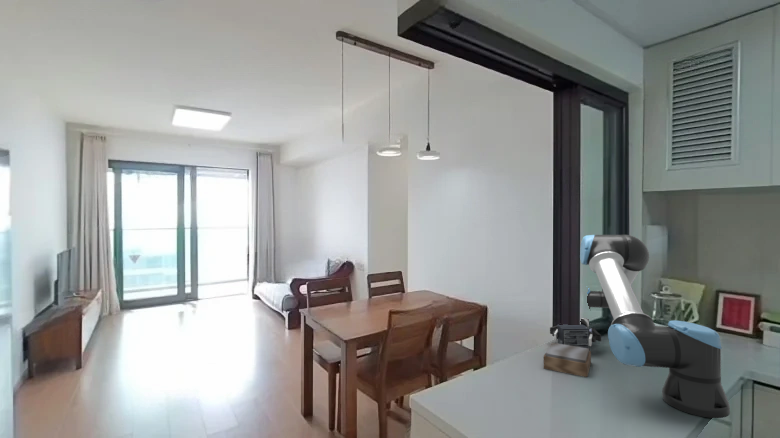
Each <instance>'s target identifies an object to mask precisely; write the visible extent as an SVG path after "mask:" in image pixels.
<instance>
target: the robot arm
mask: <svg viewBox="0 0 780 438" xmlns="http://www.w3.org/2000/svg"><path fill="white" fill-rule="evenodd" d="M579 252H580V255H579V258H580V263H581V264H582V265H585V266H588V267H589V269H590V270H591V272H593V273H594V274H596V275H597V279H598V281H599V284H600V286H601V288H602V291H601V290H599V291H598V290H591V288H590V287H589V288H588V292H587V294H588V296H587V303H588V306H589V309H590V310H591V308H597V309H598V308H599V309H600V308H601V309H602V308H603V309H609V311H610V314H611V315H612V322H611V323H610V326H609V328H608V331H607V338H608V341H609V343H608V344H609V348H610V350H611V352H612V354H613V356H614V357H615V359H616V360H617V361H618V362H620V363H621V364H622V365H625V366H634V367H636V368H637V367H640V368H642V367H648V368H649V367H651V368H661V369H663V368H665V369H668V375H667V377H666V378H665V381H664V383H663V385H662V389H661V395H662V396H661V398H662V400H663V401H664V402H665V403H666V404H668V405H669V406H671V407H673V408H674V409H676V410H678V411H681V412H683V413H687V414H690V415H694V416H698V417H702V418H707V419H709V418H711V419H724V418H726V417H728V416H730V414H731V410H730V409H731V405H730V402H729V400H728V396H727V394H726V393H725V390H724V387H723V385H722V372H721V371H722V355H721V354H722V348H723V347H722V343H721V337H720V334H719V333H718V332H717V331H716V330H714V329H712V328H710V327H707V326H704V325H701V324H697V323H693V322H689V321H684V320H677V319H676V320H669V321H668V323H667V326H660V325H659V326H658V325H656V324H655V322H654V320H653V318H652V317H651V316H650V315H648V314H646V313H644V311H643V310H642V307H641V305H640V303H639V300H638V298H637V295H635V291H634V290H633V288H632V284H633V282H634V281H635V279H636V277H637V276H638V274H639V273H640V272H641V271H643V270H644V269H646V267H647V266H648V264H649V260H650V254H649V253H650V252H649V249H648V247H647V245H645V243H644V242H643V241H642V240H641V239H639V238H638V237H636V236H634V235H630V234H588V235H587V234H586V235H585V236H583V237H582V239H581V242H580V251H579ZM580 322H581V325H584V326H586V327H588V328H589V326H590V325H589V319H587V318H581V321H580ZM549 334H550V335H552V336H553V341H558V329H557V325H555V326H551V327H549ZM596 341H598V342H602V334H600V332H598V331H597V330H596V327H591V328H589V346H590V347H592V343H596Z"/></svg>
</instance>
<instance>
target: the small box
mask: <svg viewBox="0 0 780 438" xmlns="http://www.w3.org/2000/svg"><path fill="white" fill-rule="evenodd" d="M556 326H557V329H558V338H557V343H558V344H564V345H570V346H576V347H582V348H588V349H589V351H591V346H589V329H590V328H589V327H586V326H584V325H568V324H563V325H559V324H557V325H556Z"/></svg>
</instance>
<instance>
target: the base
mask: <svg viewBox="0 0 780 438" xmlns="http://www.w3.org/2000/svg"><path fill="white" fill-rule="evenodd" d="M591 364H592V350H590V351H589V349H588V348H582V347H576V346H570V345H564V344H558V342H551V343H550V345H549V346H548V348H547V350H546V351H545V352H544V355H543V370H544V369H545V370H549V371H553V372H560V373H565V374H568V375H575V376H578V377H579V376H580V377H584V378H588V376H589V372H590V368H591Z"/></svg>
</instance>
